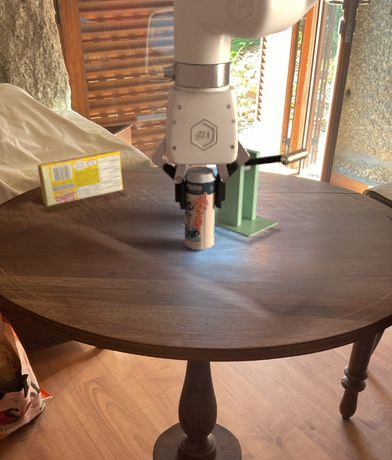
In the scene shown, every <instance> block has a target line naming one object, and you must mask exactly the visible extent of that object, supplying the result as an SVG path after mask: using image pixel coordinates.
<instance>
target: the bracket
mask: <svg viewBox="0 0 392 460" xmlns="http://www.w3.org/2000/svg"><path fill="white" fill-rule="evenodd" d="M244 148H245V149H246V151H247V152H248V154H249V155H250V158H258V157H261V152H260V151H258V150H254V149H250V148H246V147H244ZM244 164H245V163H244ZM244 164H243V165H242V166H240V167H239V168H238V169H237V170H236V171H235V172H234V173H233V174H232V175H231V176H230V177H229V179H228V181H227V182H226V191H225V201H221V208H215V226H218V227H220V228H223V229H226V230H229V231H231V232H234V233H237V234H240V235H243V236H245V237H248V238H250V237H253V236H255V235H257V234H259V233H261V232H263V231H265V230H267V229H268V230H269V229H270V228H272V227H274V226H276V225H278V223H279V222H277V221H274V220H272V219H268V218H265V217H262V216H259V215H257V214H256V213H257V204H258V203H257V201H258V191H259V190H258V187H259V174H260V165H252V166H251V169H249V170H246V171H244Z"/></svg>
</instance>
